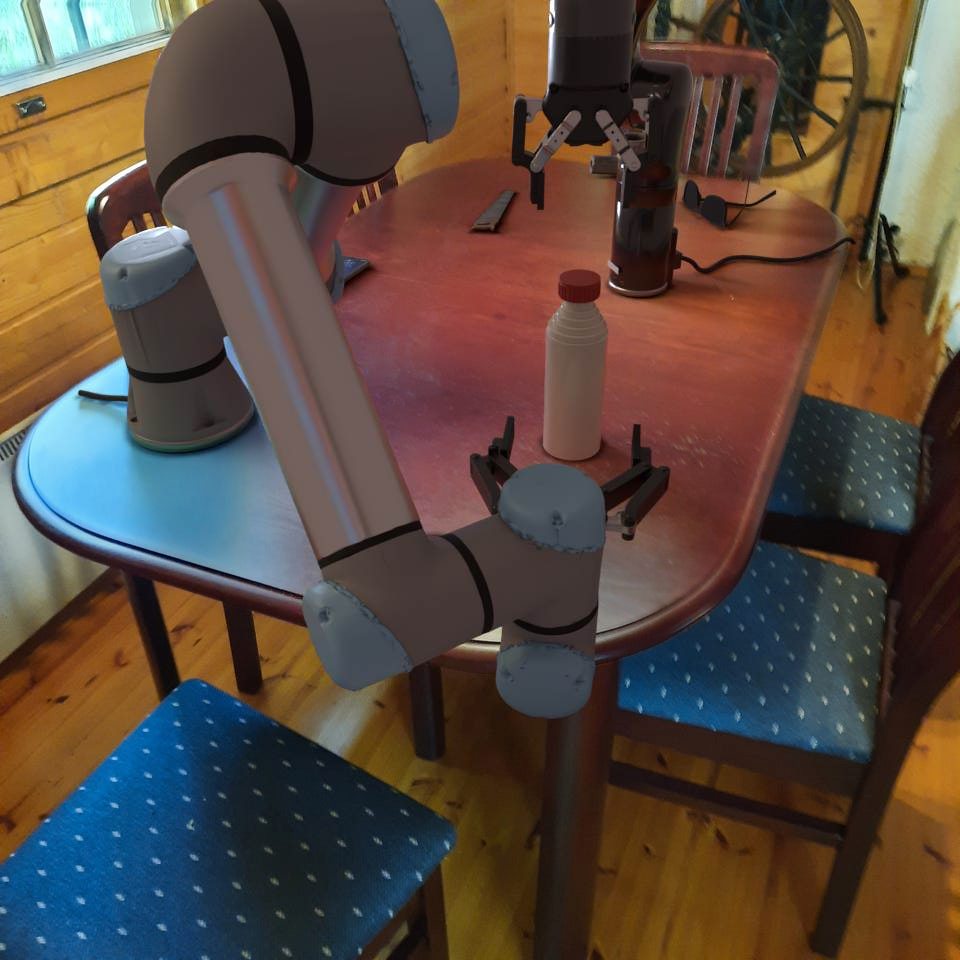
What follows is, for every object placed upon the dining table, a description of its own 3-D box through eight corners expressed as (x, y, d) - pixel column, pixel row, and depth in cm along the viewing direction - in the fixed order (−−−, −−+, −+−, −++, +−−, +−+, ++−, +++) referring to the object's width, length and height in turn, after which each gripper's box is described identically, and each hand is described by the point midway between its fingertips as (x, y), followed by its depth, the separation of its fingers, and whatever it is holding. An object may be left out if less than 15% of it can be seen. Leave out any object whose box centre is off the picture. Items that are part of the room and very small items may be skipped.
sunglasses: (787, 221, 160) (792, 194, 157) (718, 230, 157) (722, 203, 154) (740, 193, 173) (744, 168, 170) (675, 201, 170) (678, 176, 167)
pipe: (587, 172, 186) (589, 134, 181) (645, 169, 187) (649, 131, 182) (593, 181, 181) (595, 142, 176) (652, 178, 182) (656, 139, 177)
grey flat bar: (493, 190, 178) (493, 187, 178) (515, 191, 177) (515, 188, 177) (468, 231, 159) (468, 228, 159) (493, 232, 158) (493, 229, 158)
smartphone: (285, 286, 139) (337, 253, 150) (286, 292, 139) (338, 259, 150) (322, 293, 136) (373, 259, 147) (323, 299, 137) (373, 264, 147)
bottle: (562, 467, 99) (569, 300, 86) (532, 438, 104) (535, 276, 91) (611, 450, 101) (625, 285, 89) (580, 423, 106) (589, 263, 94)
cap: (572, 307, 89) (573, 289, 87) (550, 291, 92) (550, 274, 91) (608, 298, 90) (609, 280, 89) (585, 283, 93) (586, 265, 92)
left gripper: (424, 578, 80) (461, 450, 97) (694, 602, 77) (685, 466, 94) (418, 516, 76) (459, 394, 93) (706, 539, 73) (694, 408, 89)
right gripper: (666, 16, 79) (649, 194, 88) (510, 19, 79) (510, 195, 89) (678, 31, 73) (659, 219, 82) (510, 34, 73) (510, 221, 83)
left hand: (573, 430), depth 93 cm, fingers open, 13 cm apart
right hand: (582, 207), depth 85 cm, fingers open, 8 cm apart
